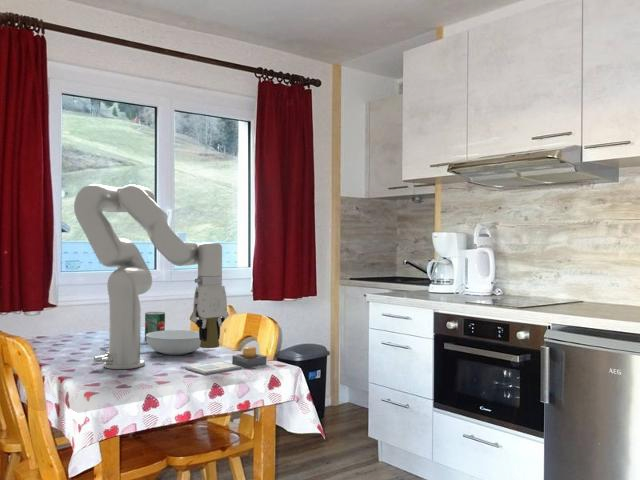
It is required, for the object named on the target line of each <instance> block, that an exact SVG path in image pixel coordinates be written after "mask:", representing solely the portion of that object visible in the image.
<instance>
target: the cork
mask: <svg viewBox="0 0 640 480" xmlns="http://www.w3.org/2000/svg"><path fill="white" fill-rule="evenodd" d="M206 320H207V321H206V327H205V328H207V340H206V341H203V339H202V340H201V343H200V348H202V349H215V348H219V347H220V339H218V331H217V323H216V322H217V320H218V318H216V317H214V318H209V319H206Z"/></svg>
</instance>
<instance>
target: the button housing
mask: <svg viewBox="0 0 640 480" xmlns="http://www.w3.org/2000/svg"><path fill="white" fill-rule="evenodd" d="M231 364H234V365H237V366H241V367H242V368H246V369H249V368H254V367H253V366H255V367H259V366H258V365H260V366H264V365H267V356H266V355H264V354H263V355H262V354H258V353H256V357H252V358H246V357H243V353H242V354H241V353H240V354H235V355H232V362H231ZM248 367H249V368H248Z"/></svg>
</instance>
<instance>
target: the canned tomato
mask: <svg viewBox="0 0 640 480" xmlns="http://www.w3.org/2000/svg"><path fill="white" fill-rule="evenodd" d="M144 313H145V314H144V341H146V342H147V340H146V334H148V333H151V332H156V331H166V312H164V311H148V312H144Z"/></svg>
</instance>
